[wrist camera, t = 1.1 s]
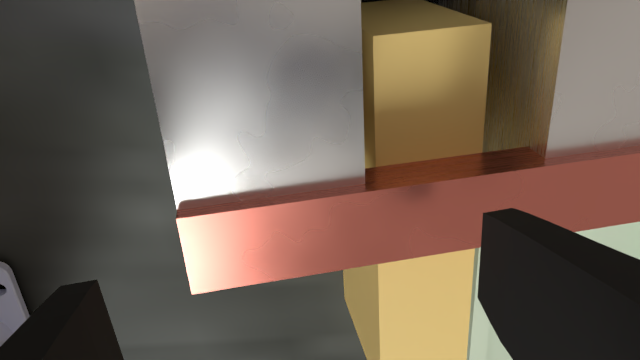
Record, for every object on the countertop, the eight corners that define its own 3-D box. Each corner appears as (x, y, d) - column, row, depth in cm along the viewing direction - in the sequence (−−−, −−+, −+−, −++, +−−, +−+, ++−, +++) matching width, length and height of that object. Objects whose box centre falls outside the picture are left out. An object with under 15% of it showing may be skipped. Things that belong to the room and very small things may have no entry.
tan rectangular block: (410, 284, 23) (464, 380, 18) (344, 296, 23) (380, 397, 18) (414, -3, 18) (492, 23, 13) (326, 5, 17) (373, 36, 12)
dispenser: (537, 121, 20) (692, 213, 14) (198, 165, 19) (191, 294, 12) (572, -151, 16) (813, -202, 10) (145, -129, 15) (93, -175, 8)
